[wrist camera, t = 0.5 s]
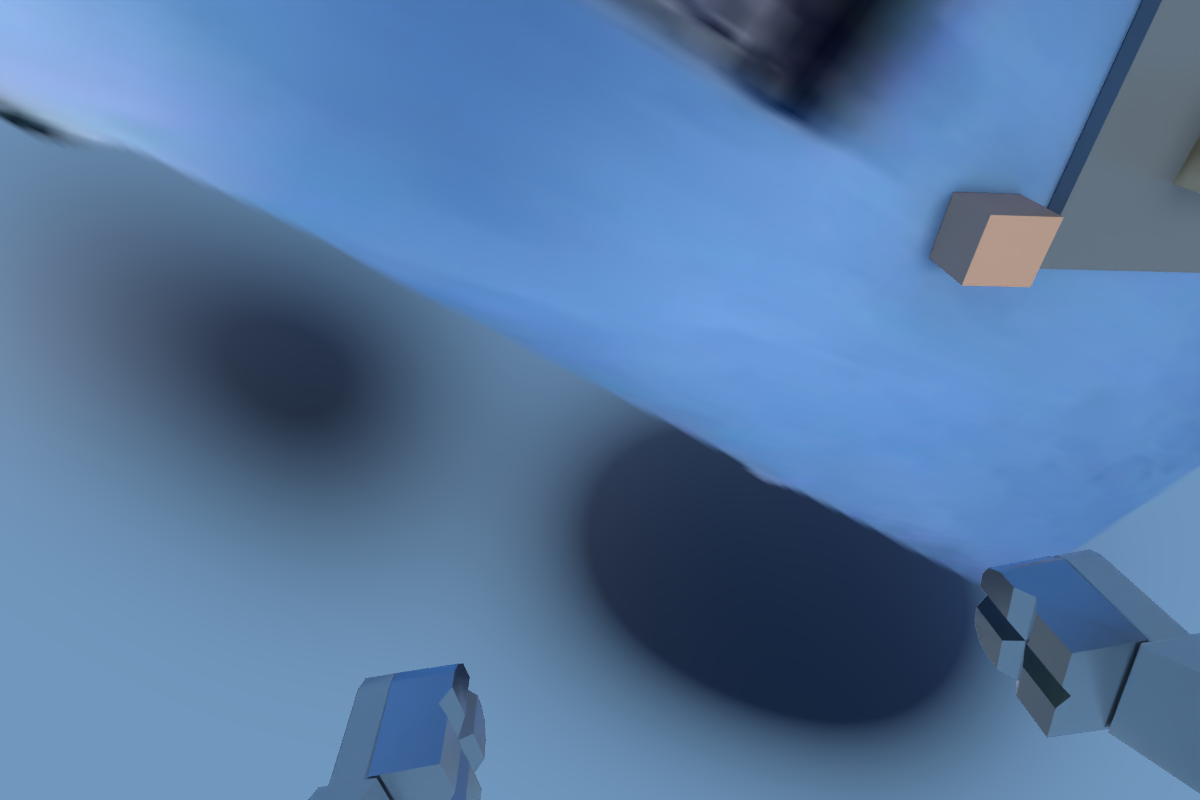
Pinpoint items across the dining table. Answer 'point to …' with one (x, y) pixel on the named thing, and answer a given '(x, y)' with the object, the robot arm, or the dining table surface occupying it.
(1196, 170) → the block
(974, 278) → the terracotta block
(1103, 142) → the slate board
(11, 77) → the dining table surface
